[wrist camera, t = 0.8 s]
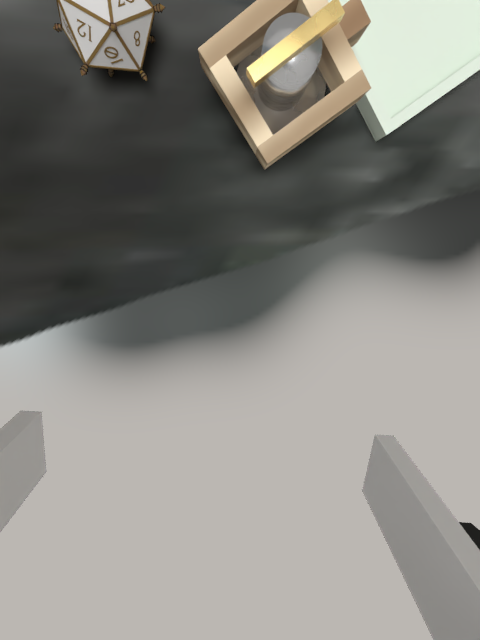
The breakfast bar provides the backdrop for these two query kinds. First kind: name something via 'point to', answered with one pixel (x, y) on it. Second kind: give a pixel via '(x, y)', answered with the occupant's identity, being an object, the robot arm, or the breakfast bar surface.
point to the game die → (109, 32)
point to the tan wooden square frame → (334, 66)
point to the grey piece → (289, 65)
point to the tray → (414, 56)
